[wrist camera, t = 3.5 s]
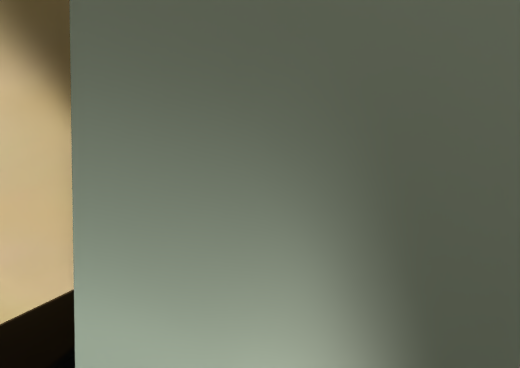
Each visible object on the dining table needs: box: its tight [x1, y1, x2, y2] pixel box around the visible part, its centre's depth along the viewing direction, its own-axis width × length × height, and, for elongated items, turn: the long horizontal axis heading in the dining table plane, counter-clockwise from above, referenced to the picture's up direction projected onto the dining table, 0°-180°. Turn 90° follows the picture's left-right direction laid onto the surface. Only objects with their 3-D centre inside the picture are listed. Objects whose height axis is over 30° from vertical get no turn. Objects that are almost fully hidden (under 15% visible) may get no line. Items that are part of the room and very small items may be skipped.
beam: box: [70, 0, 520, 368], centre depth 7 cm, size 14×4×4 cm, turn 170°
